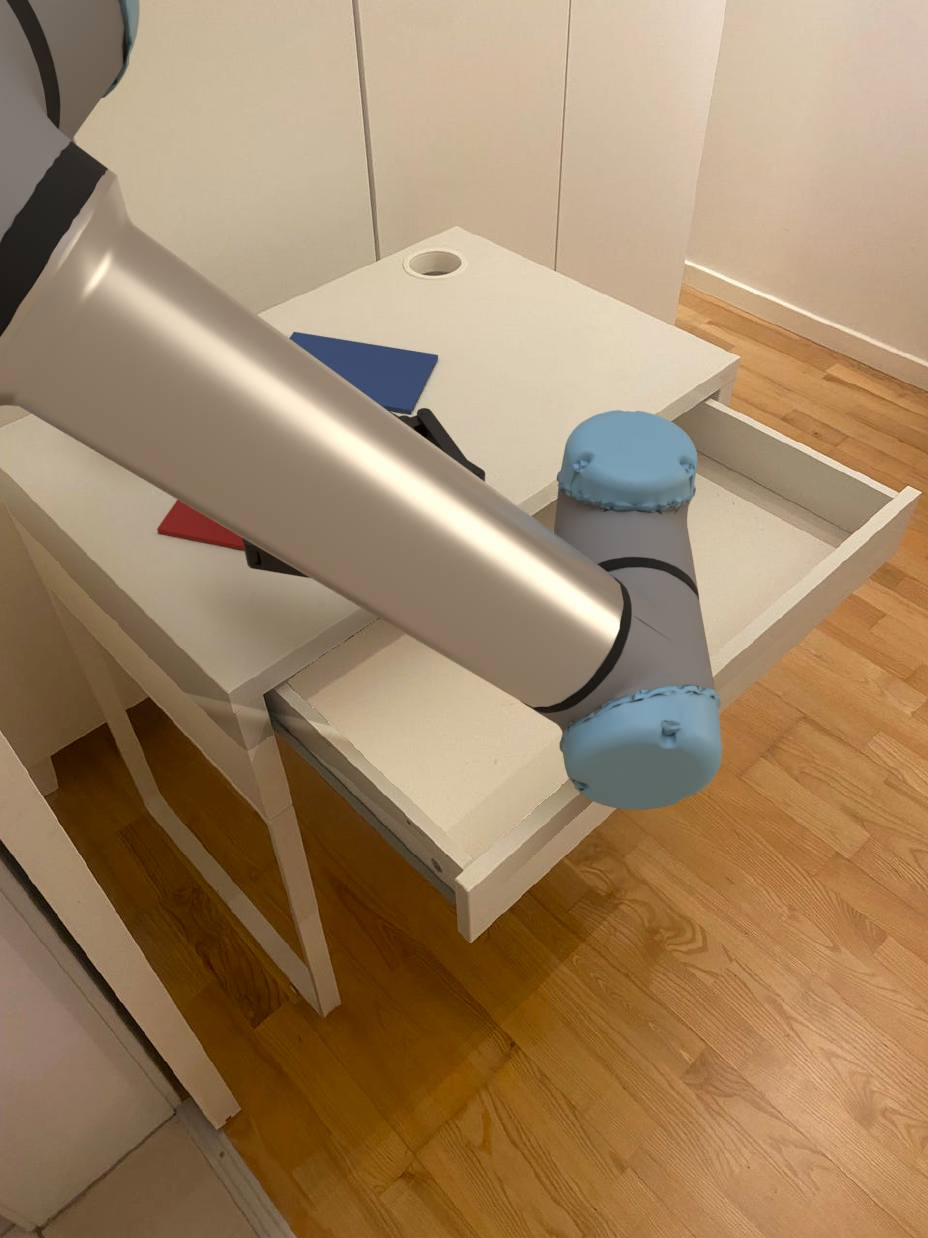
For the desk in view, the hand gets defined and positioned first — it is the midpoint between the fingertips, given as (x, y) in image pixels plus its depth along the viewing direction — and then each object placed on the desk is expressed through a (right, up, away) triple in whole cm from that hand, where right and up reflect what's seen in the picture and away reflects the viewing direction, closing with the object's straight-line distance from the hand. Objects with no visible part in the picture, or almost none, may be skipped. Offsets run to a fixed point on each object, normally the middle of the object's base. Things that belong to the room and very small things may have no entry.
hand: (272, 442), depth 76 cm
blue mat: (+4, +11, +22) cm, 25 cm away
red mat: (-2, -5, +7) cm, 9 cm away
